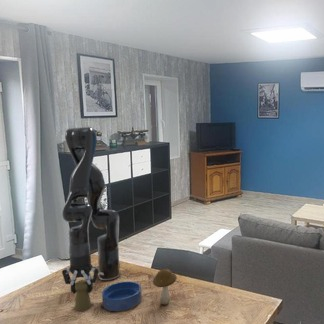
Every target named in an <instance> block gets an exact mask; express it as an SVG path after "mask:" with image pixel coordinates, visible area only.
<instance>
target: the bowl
mask: <svg viewBox="0 0 324 324" xmlns="http://www.w3.org/2000/svg"><path fill="white" fill-rule="evenodd" d="M101 298H102V299H101V301H102V307H103V308H104V309H105V310H107V311H109V312H122V311H126V310H131V309H133V308H134V307H136V306H137V305H139V304H140V303H141V302H142V298H143V297H142V285H141V284H140V283H138V282H136V281H130V280H129V281H128V280H127V281H119V282H115V283H112V284H110V285H108V286H107V287H105V288H104V289H103V290H102V291H101Z"/></svg>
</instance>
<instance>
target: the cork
mask: <svg viewBox="0 0 324 324" xmlns="http://www.w3.org/2000/svg"><path fill="white" fill-rule="evenodd" d="M75 283H76V284H75V290H76V293H75V302H74V310H75V311H76V312H84V311H87V310H89V309H91V308H92V303H91V302H92V301H91V297H90V293H88V283H87V281H86V280H85V279H81V280H78V281H77V282H75Z"/></svg>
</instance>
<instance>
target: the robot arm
mask: <svg viewBox="0 0 324 324" xmlns="http://www.w3.org/2000/svg"><path fill="white" fill-rule="evenodd" d="M97 137H98V136H97V133H96V130H95V129H94V128H93V127H91V126H84V127H83V126H82V127H72V128H67V129H66V130H65V132H64V139H65V143H66V146H67V149H68V151H69V153H70V155H71V157H72V160H73V162H74V165H75V168H74V169H73V171H72V172H71V175H70V178H69V190H68V196H67V199H66V201H65V204H64V206H63V209H62V212H61V216H62V219H63V220H64V222H65V223H74V222H75V223H76V222H77V223H79V222H81V224H80V225H79V224H78V225H76V226H73V227H70V229H69V230H68V241H69V246H68V254H69V265H70V266H69V267H64V268H63V270H62V271H61V273H62V277H63V280H64V284H65V285H69V286H70V291H71V293H72V294H73V295H76V290H75V284H76V283H77V282H76V281H77V279H78V278H84V280H86V281H87V283H88V293H89V294H91V293H92V291H93V290H94V284H95V283H96V282H97V281H98V279H99V280H100V281H113V280H115V279H117V278H119V277H120V275H121V274H120V253H119V251H120V250H119V237H120V236H119V235H120V215H119V212H118V211H117V210H114V209H104V208H103V206H102V197H103V195H104V193H105V190H106V182H105V177H104V175H103V173H102V170H100V168H99V167H98V166H97V165H96V164H94V163H93V162H94V158H95V153H96V148H97V142H98V141H97V140H98V139H97ZM82 199H86V202H85V203H76V202H78V200H82ZM91 222H92V225H93V227H94V228H96V229H99V230H106V233H104V234H102V235H100V236H98V237H97V239H96V240H97V260H98V266H93V265H92V257H91V256H92V255H91V244H90V223H91ZM91 271H92V273H93V277H92V273H91ZM70 273H71V274H72V276H71V275H70Z"/></svg>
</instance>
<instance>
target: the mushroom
mask: <svg viewBox="0 0 324 324" xmlns="http://www.w3.org/2000/svg"><path fill="white" fill-rule="evenodd" d="M177 279H178V277H177V275H176V274H175V273H173V272H172V271H171V270H170V269H168V268H162V269H159V271H158V272H157V273H156V275H155V276H154V278H153V280H152V284H153V285H154V286H155V287H157V288H162V290H161V294H160V299H159V302H160V304H161V305H163V306H164V305H166V306H167V305H168V304H169V303H170V301H171V300H170V299H171V297H170V291H169V286H171V285H173V284H174V283H176V281H177Z"/></svg>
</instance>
